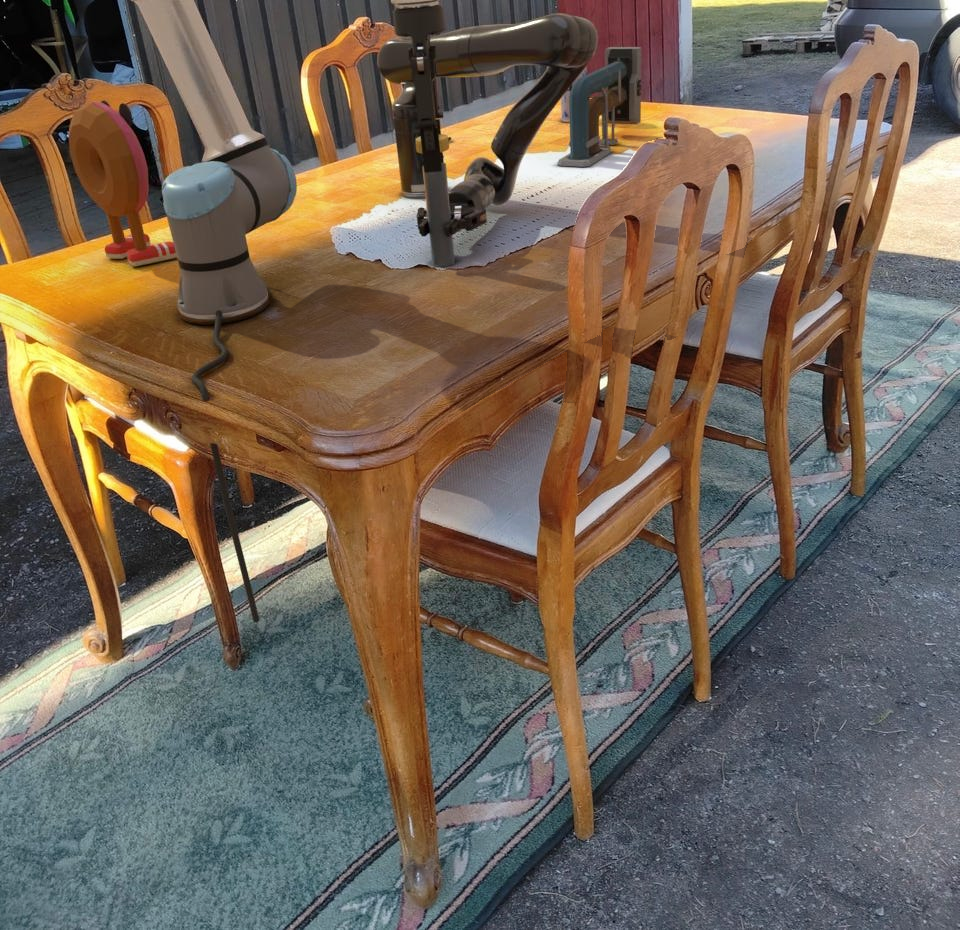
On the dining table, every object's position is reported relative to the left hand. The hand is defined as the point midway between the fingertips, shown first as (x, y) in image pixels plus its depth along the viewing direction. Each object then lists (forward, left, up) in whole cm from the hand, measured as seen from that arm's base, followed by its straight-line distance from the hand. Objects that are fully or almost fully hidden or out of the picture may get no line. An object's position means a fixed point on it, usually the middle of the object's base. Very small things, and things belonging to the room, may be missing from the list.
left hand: (434, 166), depth 152 cm
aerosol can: (+138, +7, -22) cm, 140 cm away
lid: (0, 0, +4) cm, 4 cm away
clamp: (+103, -7, -22) cm, 105 cm away
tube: (+17, +6, -22) cm, 28 cm away
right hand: (+14, +6, -15) cm, 21 cm away
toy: (+15, +70, -22) cm, 75 cm away
